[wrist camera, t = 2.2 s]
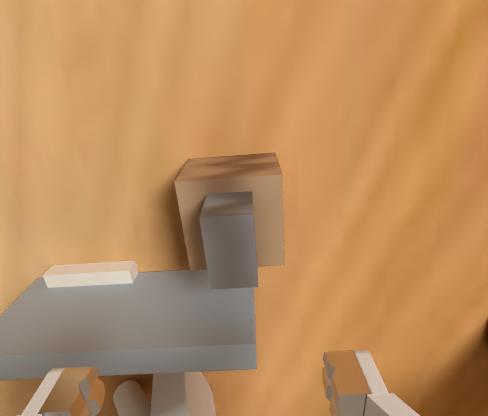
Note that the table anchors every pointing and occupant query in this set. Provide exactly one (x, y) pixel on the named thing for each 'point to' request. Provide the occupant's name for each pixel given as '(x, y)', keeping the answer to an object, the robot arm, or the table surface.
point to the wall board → (126, 323)
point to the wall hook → (167, 396)
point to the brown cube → (232, 216)
